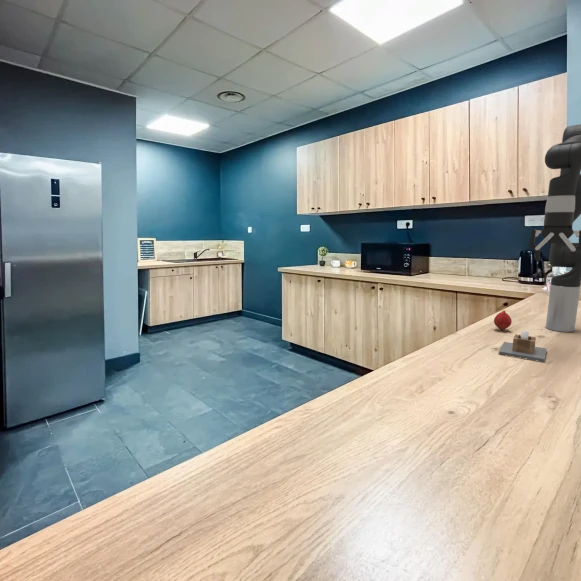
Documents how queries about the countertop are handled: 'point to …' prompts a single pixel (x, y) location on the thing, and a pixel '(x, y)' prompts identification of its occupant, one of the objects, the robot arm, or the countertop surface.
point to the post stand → (507, 350)
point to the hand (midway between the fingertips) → (553, 262)
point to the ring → (524, 344)
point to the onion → (502, 320)
